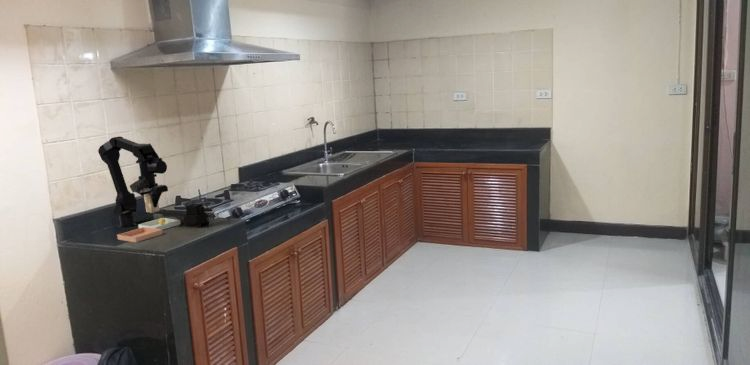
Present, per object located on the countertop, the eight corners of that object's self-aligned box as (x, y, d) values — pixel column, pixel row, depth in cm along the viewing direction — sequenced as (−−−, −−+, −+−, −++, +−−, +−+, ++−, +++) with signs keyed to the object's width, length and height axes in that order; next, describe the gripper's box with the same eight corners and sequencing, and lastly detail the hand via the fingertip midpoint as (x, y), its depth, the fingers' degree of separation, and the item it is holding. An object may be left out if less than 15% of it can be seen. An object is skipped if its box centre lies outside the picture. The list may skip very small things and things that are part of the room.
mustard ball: (157, 225, 277) (156, 218, 276) (163, 223, 279) (162, 217, 279) (161, 225, 275) (160, 219, 274) (167, 223, 277) (166, 217, 277)
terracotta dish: (118, 240, 256) (117, 234, 256) (144, 232, 266) (143, 227, 266) (136, 243, 249) (135, 237, 248) (162, 235, 259) (161, 229, 259)
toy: (208, 229, 263) (205, 207, 261) (183, 228, 269) (180, 206, 267) (219, 225, 270) (216, 203, 268) (194, 224, 276) (191, 203, 274)
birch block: (146, 212, 269) (143, 194, 267) (153, 210, 272) (151, 192, 270) (151, 212, 266) (149, 195, 265) (159, 210, 270) (156, 193, 268)
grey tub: (138, 230, 272) (138, 224, 272) (163, 222, 282) (162, 217, 282) (156, 232, 265) (155, 227, 264) (180, 225, 275) (179, 219, 275)
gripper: (118, 175, 265) (123, 209, 267) (144, 177, 254) (149, 212, 257) (140, 170, 274) (145, 204, 276) (166, 172, 263) (171, 207, 266)
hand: (152, 207), depth 269 cm, fingers closed on birch block, 4 cm apart
